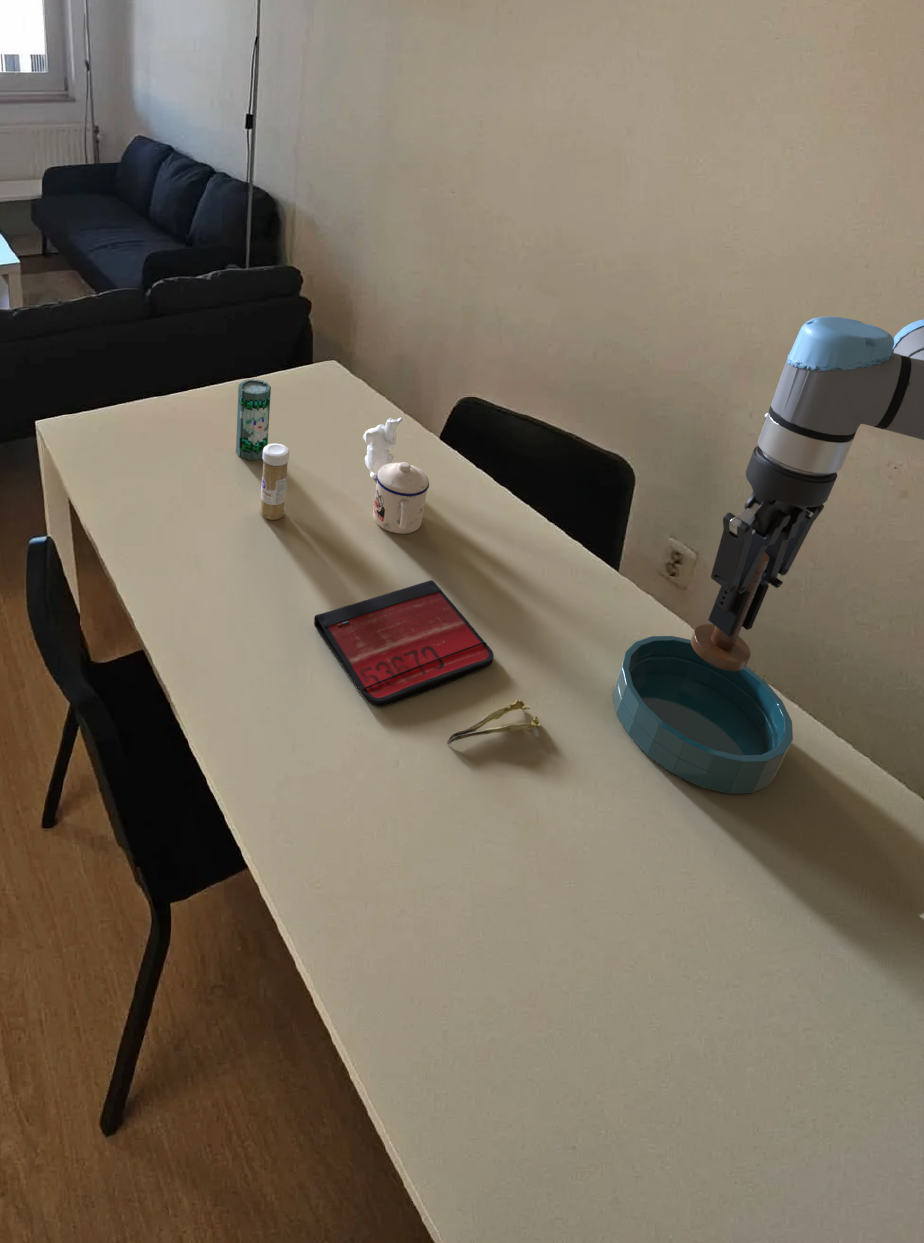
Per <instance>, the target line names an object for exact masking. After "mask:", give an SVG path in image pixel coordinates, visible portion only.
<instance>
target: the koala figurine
mask: <svg viewBox="0 0 924 1243" xmlns="http://www.w3.org/2000/svg"><path fill="white" fill-rule="evenodd" d="M403 421H404V419H403V418H402V417H399V418H397V419H395V418H390V417H389V418H387V420H386V422H385V425H384V424H381V423H380V424H378V425H377V426H376V427H372V428H369V429H367V430H365V432H364V434H363V435H362V439H363V440H364V441H365V443H366V445H367V446H366V455H365V457H364V462H365V466H366V468H367V469H368V470H369V472H370V474H369V476H370V478H371V479H377V478H376V476H377V473H378V471H379V469H380V468H381V467H383V466H384V465H387V464H390V463H394V459H395V458H394V457H395V456H394V454H392V453H391V451H390V450H393V448H394V447H395V445H396V443H397V442H396V440H397V428H398V427H399V425H400V424H402V422H403Z"/></svg>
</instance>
